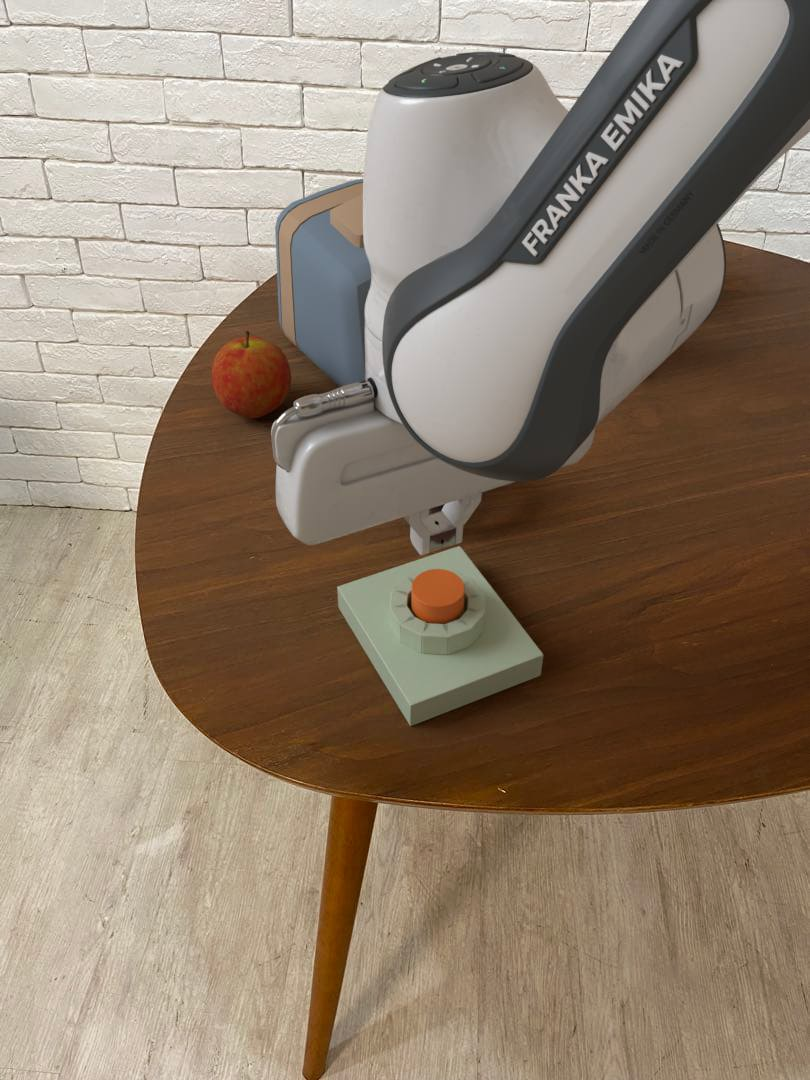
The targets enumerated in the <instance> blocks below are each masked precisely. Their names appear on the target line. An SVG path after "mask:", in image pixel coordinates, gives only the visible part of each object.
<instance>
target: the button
mask: <svg viewBox="0 0 810 1080" xmlns="http://www.w3.org/2000/svg"><path fill="white" fill-rule="evenodd" d="M464 595H465V586H464V583H463V581H462V579H461V578H460V577H459V576H458V575H456V574H455V573H453V572H451V571H448V570H443V569H432V570H427V571H425V572H422V573H421V574H419V575H418V576H417V577H416V578H415V579H414V581H413V583H412V590H411V606H412V610H413V612H414V614H415V615H416V616H417V617H418V618H420V619H421V620H423V621H425V622H428V623H432V624H445V623H449V622H451V621H453V620H455V619H457V618H458V617H459V616H460V615H461V613H462V611H463V609H464Z"/></svg>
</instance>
